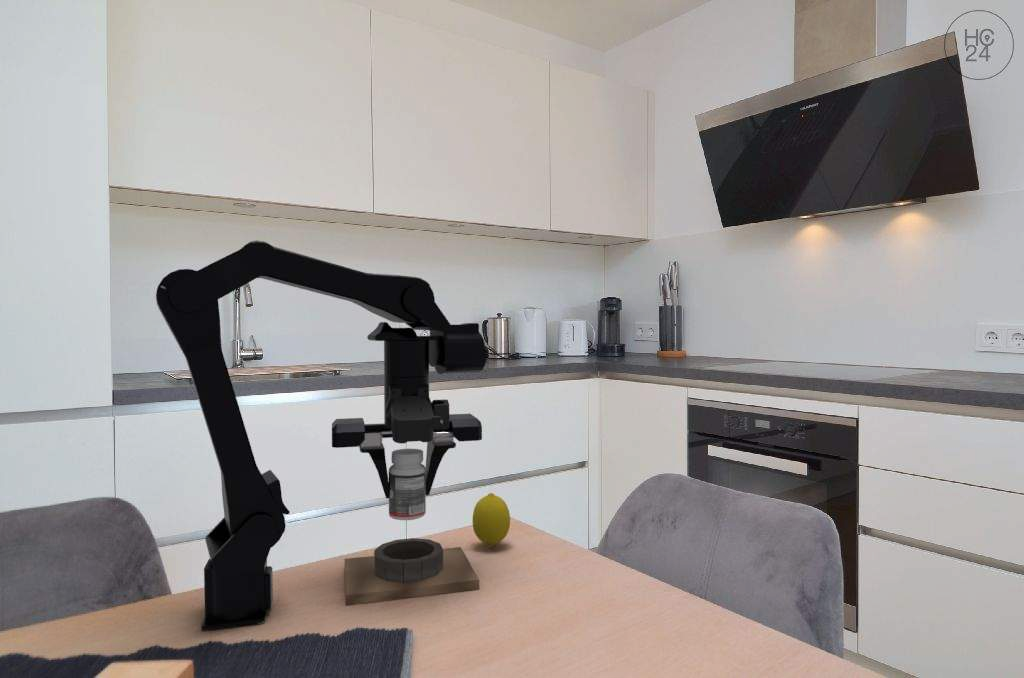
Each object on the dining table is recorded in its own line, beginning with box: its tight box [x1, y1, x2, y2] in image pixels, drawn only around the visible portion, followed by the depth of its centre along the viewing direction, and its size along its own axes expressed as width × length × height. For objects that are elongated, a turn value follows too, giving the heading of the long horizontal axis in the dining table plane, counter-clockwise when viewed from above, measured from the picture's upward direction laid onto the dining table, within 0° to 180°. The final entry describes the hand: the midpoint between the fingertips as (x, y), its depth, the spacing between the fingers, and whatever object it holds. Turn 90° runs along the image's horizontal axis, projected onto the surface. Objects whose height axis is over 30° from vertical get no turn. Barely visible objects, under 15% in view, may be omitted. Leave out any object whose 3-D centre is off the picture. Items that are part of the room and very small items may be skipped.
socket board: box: [343, 537, 480, 606], centre depth 83 cm, size 16×12×4 cm
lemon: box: [472, 492, 511, 548], centre depth 94 cm, size 6×6×8 cm
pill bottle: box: [388, 448, 427, 521], centre depth 83 cm, size 5×5×8 cm
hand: (407, 496), depth 83 cm, fingers closed on pill bottle, 5 cm apart
